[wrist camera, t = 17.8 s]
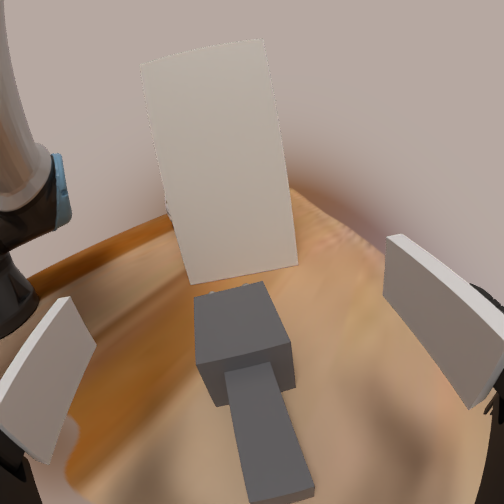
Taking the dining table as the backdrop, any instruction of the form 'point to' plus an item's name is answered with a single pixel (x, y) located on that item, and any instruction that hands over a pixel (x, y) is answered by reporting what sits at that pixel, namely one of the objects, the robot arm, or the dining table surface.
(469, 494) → the dining table surface
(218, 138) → the pillar
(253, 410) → the plug
